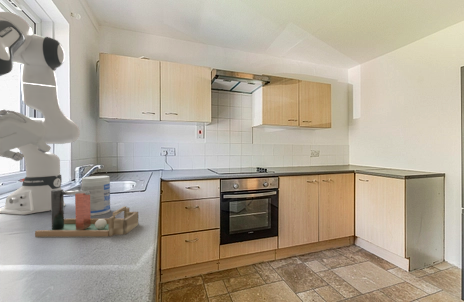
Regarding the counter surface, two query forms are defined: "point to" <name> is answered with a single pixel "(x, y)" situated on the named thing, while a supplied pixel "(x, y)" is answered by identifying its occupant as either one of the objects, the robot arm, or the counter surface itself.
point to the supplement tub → (97, 193)
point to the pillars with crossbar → (80, 208)
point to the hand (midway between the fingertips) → (34, 154)
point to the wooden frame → (122, 222)
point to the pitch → (71, 231)
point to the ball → (100, 223)
